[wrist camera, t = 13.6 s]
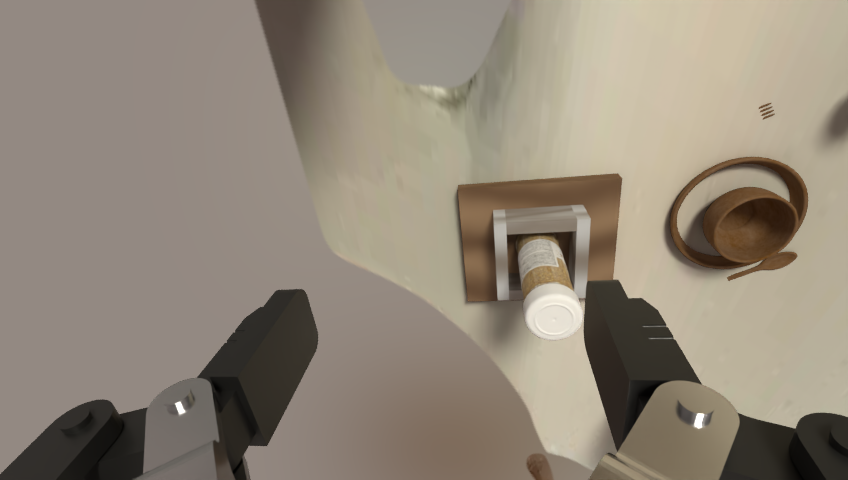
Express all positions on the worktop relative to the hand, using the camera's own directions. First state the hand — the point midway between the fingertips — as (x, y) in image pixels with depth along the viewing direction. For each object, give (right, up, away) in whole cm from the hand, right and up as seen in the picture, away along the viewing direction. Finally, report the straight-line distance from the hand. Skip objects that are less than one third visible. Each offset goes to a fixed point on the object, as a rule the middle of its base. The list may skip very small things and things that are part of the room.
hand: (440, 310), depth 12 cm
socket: (+12, +2, +35) cm, 37 cm away
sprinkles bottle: (+12, +2, +33) cm, 35 cm away
